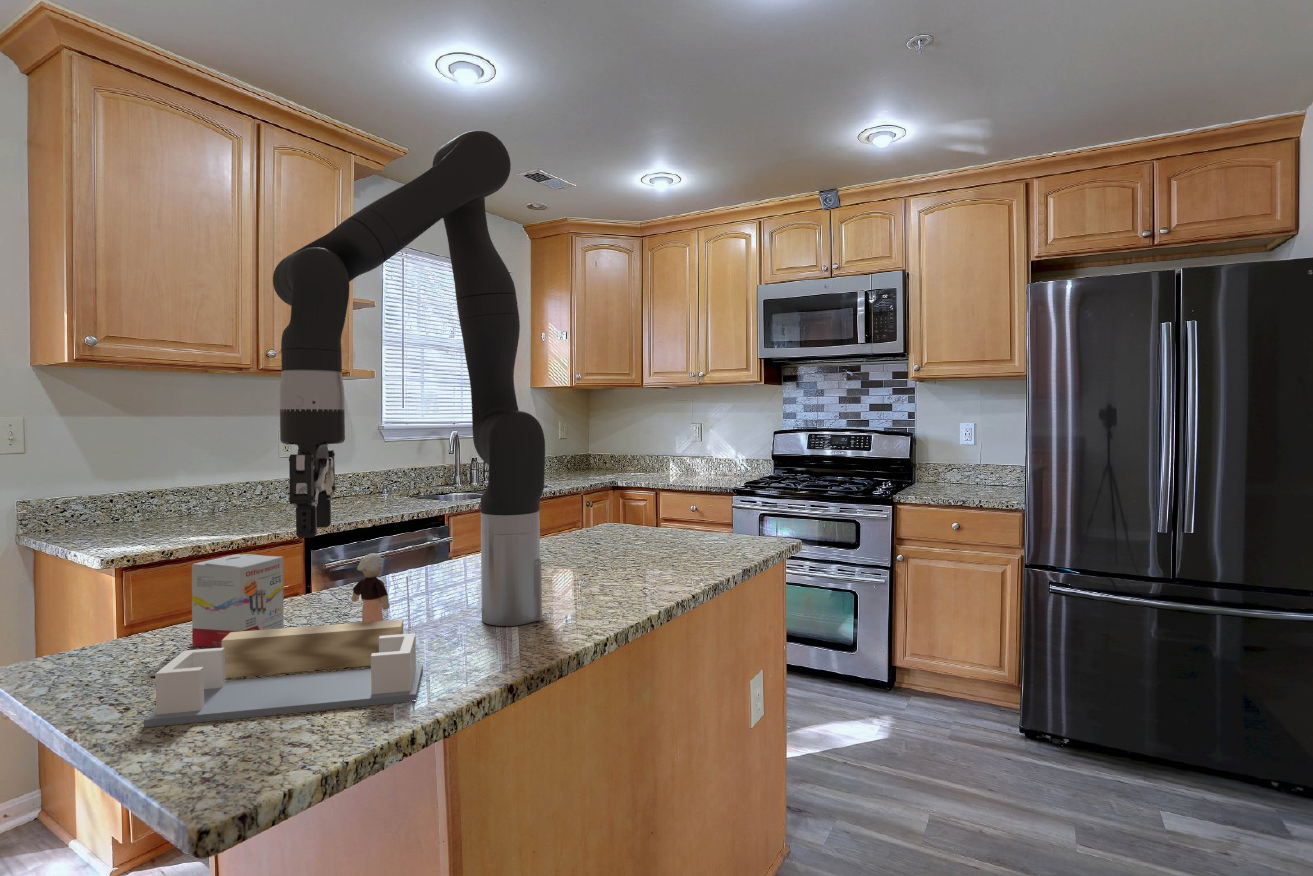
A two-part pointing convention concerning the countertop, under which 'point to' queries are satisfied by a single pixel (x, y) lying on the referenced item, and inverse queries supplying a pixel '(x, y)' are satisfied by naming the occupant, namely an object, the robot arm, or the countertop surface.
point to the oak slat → (304, 647)
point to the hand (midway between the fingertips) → (314, 532)
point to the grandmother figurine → (371, 589)
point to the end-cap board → (280, 686)
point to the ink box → (236, 597)
